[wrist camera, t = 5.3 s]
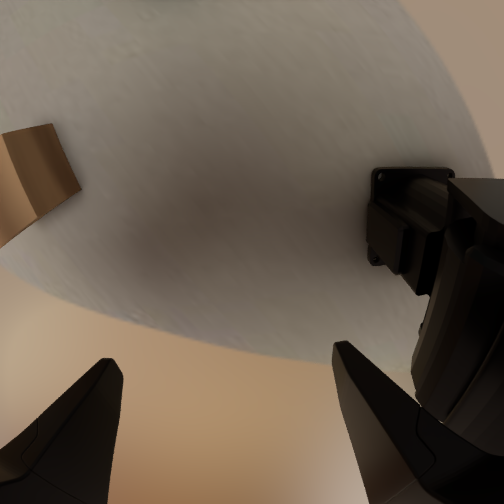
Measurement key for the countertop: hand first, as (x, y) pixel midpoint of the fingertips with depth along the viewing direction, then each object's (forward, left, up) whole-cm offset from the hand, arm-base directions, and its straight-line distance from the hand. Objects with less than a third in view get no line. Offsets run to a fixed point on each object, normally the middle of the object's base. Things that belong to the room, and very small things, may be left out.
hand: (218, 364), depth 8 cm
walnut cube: (+12, -6, -10) cm, 17 cm away
